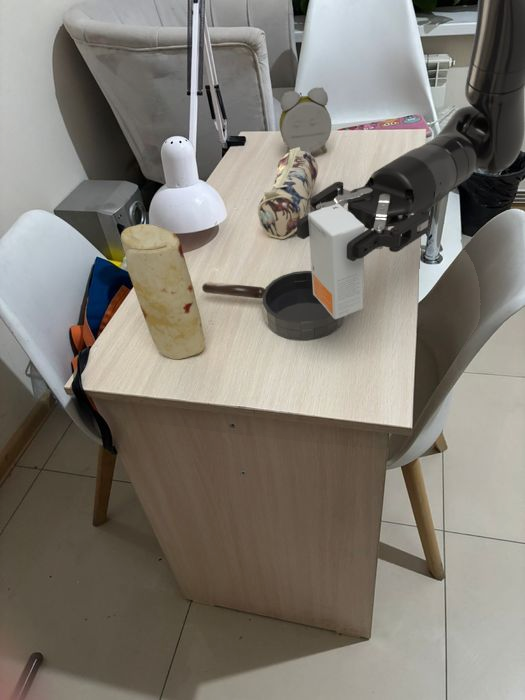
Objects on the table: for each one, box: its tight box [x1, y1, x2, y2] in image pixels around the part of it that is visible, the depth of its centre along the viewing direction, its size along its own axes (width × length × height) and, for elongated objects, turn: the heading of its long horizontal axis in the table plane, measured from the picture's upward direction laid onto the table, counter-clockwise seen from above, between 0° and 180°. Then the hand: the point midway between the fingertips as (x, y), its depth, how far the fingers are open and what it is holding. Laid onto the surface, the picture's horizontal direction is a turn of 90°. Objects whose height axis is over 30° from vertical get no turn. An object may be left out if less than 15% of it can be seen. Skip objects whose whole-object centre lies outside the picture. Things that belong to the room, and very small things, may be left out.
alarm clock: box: [279, 86, 333, 155], centre depth 118 cm, size 12×7×15 cm, turn 94°
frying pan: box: [261, 270, 346, 342], centre depth 79 cm, size 13×13×4 cm
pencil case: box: [257, 147, 319, 240], centre depth 101 cm, size 22×8×10 cm, turn 167°
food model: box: [120, 223, 206, 360], centre depth 71 cm, size 10×7×20 cm
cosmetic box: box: [307, 204, 366, 319], centre depth 61 cm, size 6×4×12 cm
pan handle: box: [201, 281, 265, 300], centre depth 82 cm, size 11×2×2 cm, turn 73°
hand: (323, 241), depth 57 cm, fingers closed on cosmetic box, 7 cm apart
